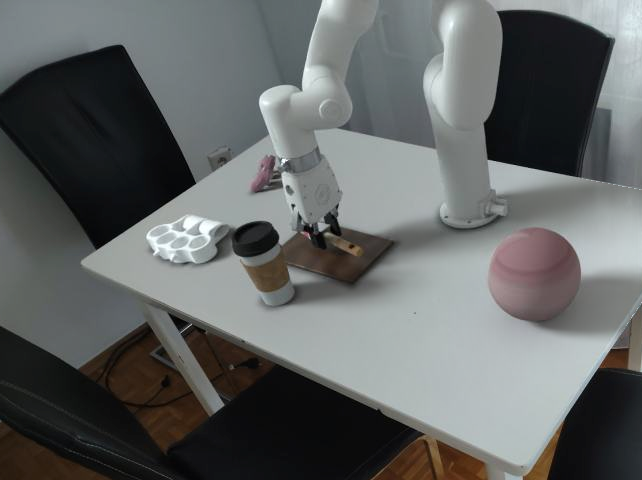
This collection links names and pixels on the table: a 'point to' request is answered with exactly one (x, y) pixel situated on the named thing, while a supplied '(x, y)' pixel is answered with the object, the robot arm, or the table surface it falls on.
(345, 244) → the white and tan bar
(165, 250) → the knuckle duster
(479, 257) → the table surface
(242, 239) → the coffee cup
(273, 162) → the video game controller
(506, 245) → the pink ball
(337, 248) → the board
